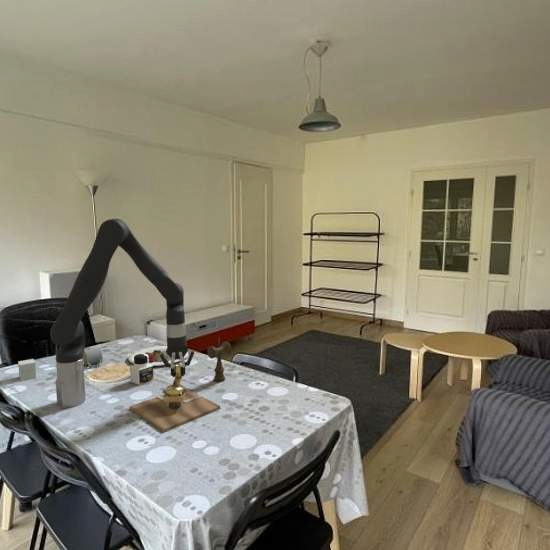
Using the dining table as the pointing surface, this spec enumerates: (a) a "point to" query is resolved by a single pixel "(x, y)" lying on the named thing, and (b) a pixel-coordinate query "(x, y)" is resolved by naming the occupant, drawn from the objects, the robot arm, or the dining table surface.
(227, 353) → the kendama
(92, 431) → the dining table surface
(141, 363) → the medicine bottle
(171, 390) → the gold piece
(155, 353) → the plated food
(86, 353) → the ceramic mug
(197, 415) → the post base
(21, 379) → the product box
